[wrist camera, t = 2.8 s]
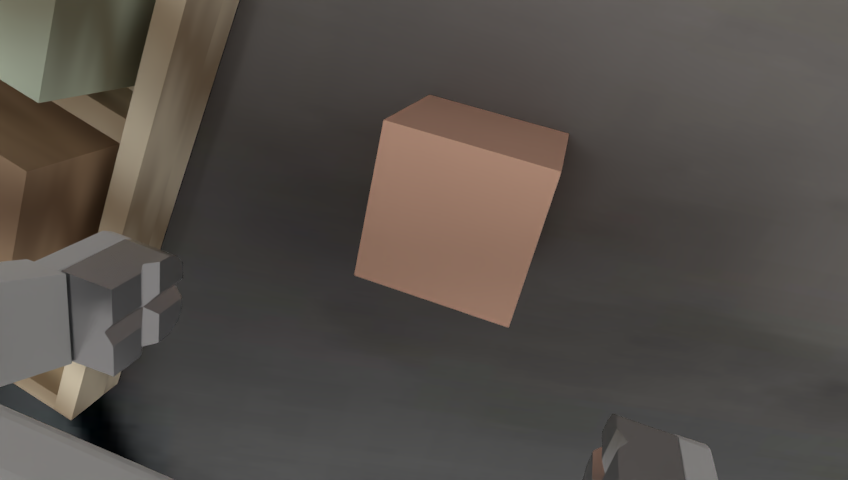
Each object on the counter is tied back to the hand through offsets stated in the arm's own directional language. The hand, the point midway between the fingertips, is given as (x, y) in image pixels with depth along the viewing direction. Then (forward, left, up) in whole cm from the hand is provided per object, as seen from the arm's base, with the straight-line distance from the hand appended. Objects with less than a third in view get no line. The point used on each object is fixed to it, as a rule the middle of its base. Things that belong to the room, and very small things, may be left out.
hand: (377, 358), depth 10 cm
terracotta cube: (0, 0, -12) cm, 12 cm away
